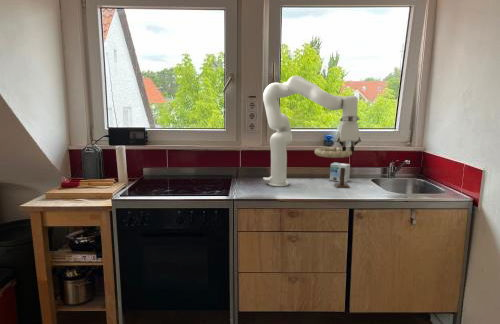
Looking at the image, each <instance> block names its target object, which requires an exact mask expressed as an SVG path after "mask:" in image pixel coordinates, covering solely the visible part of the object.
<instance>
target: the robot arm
mask: <svg viewBox="0 0 500 324" xmlns="http://www.w3.org/2000/svg"><path fill="white" fill-rule="evenodd" d="M296 94H298V95H300V96H301V97H304V98H306V99H308V100H310V101H311V102H314V103H315V104H317V105H319V106H321V107H323V108H325V109H327V110H330V111H340V110H342V111H341V113H342V114H341V115H342V116H341V121H340V122H339V126H338V134H337V138H336V139H335V142H337V143H338V144H339V145H341V148H342V151H346V149H347V147H346V143H347V142H350V147H349V149H350V150H351V151H352V154H351V155H353V154H354V152H355V147H356V146H357V144H359V143H361V142H362V140H361V137H360V127H359V122H358V121H360V119H361V118H360V117H359V116H358V102H359V101H358V100H359V99H358V97H357V96H356V95H345V96H341V95H334V94H331V93H330V92H327V91H325V90H323V89H321V88H320V87H319V86H318V85H317V84H316V83H314V82H311V81H309V80H307V79H306V78H304V76H300V75H292V76H290V77H289V78H288V79H287V81H285V82H283V83H282V82H272V83H270V84H268V85H267V86H266V87H265V89H264V90H263V95H262V100H263V104H264V109H265V114H266V115H265V116H266V120H267V124H268V125H267V126H268V127H269V129H270V130H273V131H276V132H274V133H272V134H271V136H270V138H269V147H270V175H269V176H268V177H262V181H265V182H267V184H268V185H269V186H271V187H286V186H287V187H288V186H289V185H290V181H287V177H288V176H287V175H288V174H287V171H288V169H287V167H288V156H287V155H288V152H287V147H289V146H290V145H291V144H292V142H293V133H292V128H291V123H290V120H289V117H288V116H287V115H286V114H284V113H282V112H281V107H280V103H279V101H278V98H279V99H284V98H289V97H291V96H293V95H296Z"/></svg>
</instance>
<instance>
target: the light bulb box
mask: <svg viewBox="0 0 500 324" xmlns="http://www.w3.org/2000/svg"><path fill="white" fill-rule="evenodd" d="M341 167H343V168H345V175H344V183H347V182H349V181H350V172H351V164H350V163H341V162H332V163H330V169H329V181H334V182H337V183H340V170H341Z"/></svg>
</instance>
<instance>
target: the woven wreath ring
mask: <svg viewBox="0 0 500 324" xmlns="http://www.w3.org/2000/svg"><path fill="white" fill-rule="evenodd" d="M313 153H314V154H315V155H316V156H317V157H322V158H333V159H334V158H335V159H337V158H339V159H340V158H348V157H350V156H352V155H353V154H352V151H351V150H350V148H346V151H342V147H335V146H333V147H332V146H330V147H326V146H325V147H318V148H315V149H314V152H313Z"/></svg>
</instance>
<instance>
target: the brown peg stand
mask: <svg viewBox="0 0 500 324" xmlns="http://www.w3.org/2000/svg"><path fill="white" fill-rule="evenodd" d="M344 175H345V168H343V167H341V170H340V182H334V186H335V187H336V188H337V189H350V185H349V184H348V183H347V182H344Z"/></svg>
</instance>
